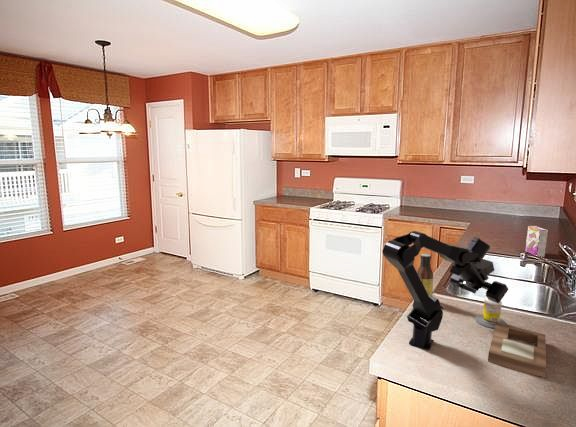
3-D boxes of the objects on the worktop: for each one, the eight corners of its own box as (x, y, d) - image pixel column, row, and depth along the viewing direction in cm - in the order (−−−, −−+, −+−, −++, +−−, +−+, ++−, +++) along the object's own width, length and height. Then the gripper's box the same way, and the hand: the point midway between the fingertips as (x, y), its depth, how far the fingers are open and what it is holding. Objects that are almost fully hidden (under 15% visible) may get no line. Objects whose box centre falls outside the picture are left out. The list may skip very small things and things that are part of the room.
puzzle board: (544, 378, 100) (546, 366, 99) (487, 361, 108) (488, 350, 107) (544, 343, 118) (545, 332, 117) (495, 330, 126) (496, 321, 125)
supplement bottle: (487, 316, 135) (490, 290, 133) (502, 322, 131) (505, 295, 129) (479, 320, 132) (481, 293, 130) (494, 326, 128) (497, 299, 126)
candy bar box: (524, 252, 219) (527, 225, 216) (532, 252, 219) (535, 225, 215) (536, 257, 208) (540, 230, 205) (545, 257, 208) (549, 230, 204)
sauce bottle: (434, 300, 150) (438, 254, 146) (428, 305, 145) (432, 258, 141) (419, 296, 154) (422, 251, 150) (412, 300, 150) (415, 255, 146)
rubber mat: (505, 331, 125) (505, 330, 125) (473, 323, 130) (473, 322, 130) (507, 320, 133) (507, 319, 133) (477, 313, 138) (477, 312, 138)
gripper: (508, 261, 115) (525, 289, 121) (458, 246, 131) (476, 271, 138) (488, 288, 113) (507, 315, 119) (441, 270, 129) (459, 294, 136)
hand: (486, 297), depth 128 cm, fingers open, 9 cm apart
